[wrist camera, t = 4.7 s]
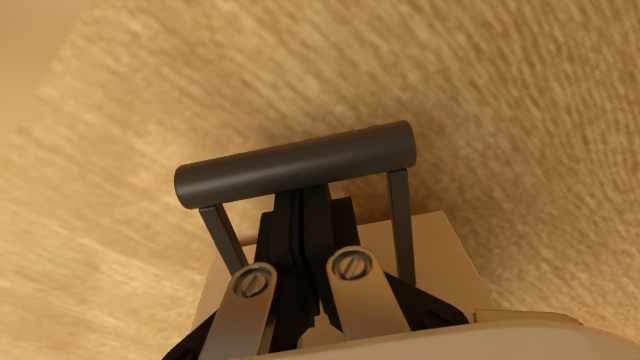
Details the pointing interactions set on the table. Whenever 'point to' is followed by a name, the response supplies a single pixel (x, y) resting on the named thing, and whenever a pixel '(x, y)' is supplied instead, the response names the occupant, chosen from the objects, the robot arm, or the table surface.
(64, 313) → the table surface
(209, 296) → the drawer
